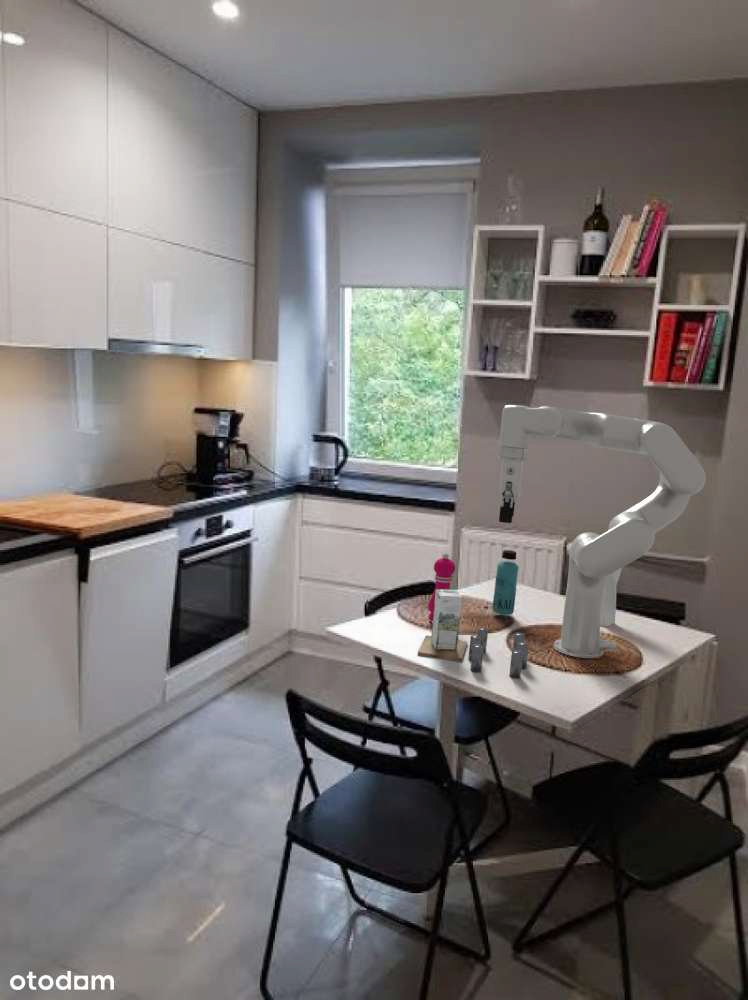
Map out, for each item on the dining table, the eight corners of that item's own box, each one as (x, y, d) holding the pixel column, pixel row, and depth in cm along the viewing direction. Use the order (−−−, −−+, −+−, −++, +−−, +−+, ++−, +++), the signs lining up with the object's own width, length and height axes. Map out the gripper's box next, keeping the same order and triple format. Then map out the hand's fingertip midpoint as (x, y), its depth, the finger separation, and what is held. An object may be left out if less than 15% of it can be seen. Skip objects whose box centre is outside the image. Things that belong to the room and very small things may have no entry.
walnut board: (467, 644, 198) (467, 641, 198) (461, 661, 185) (461, 658, 185) (425, 638, 200) (426, 635, 200) (417, 654, 187) (417, 651, 187)
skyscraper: (608, 629, 219) (620, 535, 214) (584, 622, 224) (596, 530, 219) (619, 623, 225) (631, 532, 220) (596, 617, 230) (607, 527, 225)
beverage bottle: (497, 611, 228) (504, 547, 225) (517, 616, 224) (524, 551, 221) (487, 616, 223) (494, 550, 220) (507, 621, 219) (515, 554, 216)
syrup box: (452, 642, 196) (457, 588, 193) (457, 651, 190) (462, 595, 187) (430, 642, 195) (435, 588, 192) (435, 650, 189) (440, 595, 187)
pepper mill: (443, 627, 210) (450, 557, 206) (422, 620, 214) (428, 552, 211) (457, 621, 215) (463, 553, 212) (435, 615, 220) (441, 548, 216)
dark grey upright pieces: (527, 656, 192) (529, 634, 191) (525, 680, 177) (528, 655, 176) (471, 648, 195) (473, 626, 194) (464, 670, 180) (467, 646, 179)
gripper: (526, 458, 184) (519, 526, 187) (528, 452, 201) (522, 515, 204) (496, 455, 186) (489, 523, 189) (500, 449, 202) (494, 512, 205)
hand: (506, 519), depth 196 cm, fingers open, 9 cm apart
